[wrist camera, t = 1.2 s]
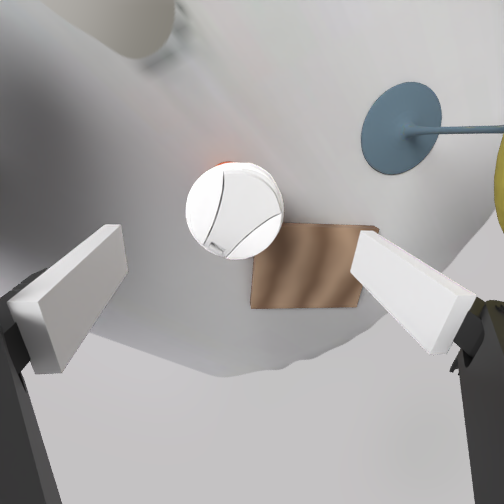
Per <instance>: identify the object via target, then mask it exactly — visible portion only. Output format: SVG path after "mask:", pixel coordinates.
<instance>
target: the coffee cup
mask: <svg viewBox="0 0 504 504" xmlns="http://www.w3.org/2000/svg"><path fill="white" fill-rule="evenodd" d="M283 217H284V203H283V198H282V195H281V192H280V190H279V188H278V186H277V185H276V183H275V181H274V179H273V177H272V175H270V174H269V173H268V172H267V171H266V170H264V169H263V168H261V167H259V166H257V165H255V164H252V163H236V162H223V163H220V164H218V165H216V166H215V167H213V168H211V169H209V170H208V171H207V172H205V173H204V174H202V175H201V176H200V177H199V178H198V179H197V181H196V182H195V183H194V185H193V186H192V188H191V190H190V192H189V195H188V198H187V201H186V220H187V224H188V227H189V229H190V232H191V233H192V235H193V237H194V238H195V239H196V241H197V242H198V243H199V244H200V245H201V246H202V247H203V248H205V249H206V250H208V251H209V252H211V253H213V254H215V255H218V256H221V257H225V258H226V259H232V260H239V259H246V258H249V257H252V256H255V255H257V254H259V253H260V252H262V251H264V250H265V249H266V248H267V247H268V246H269V245H270V244H271V243H272V242H273V240H274V239H275V237H276V236H277V234H278V233H279V230H280V228H281V226H282V222H283Z"/></svg>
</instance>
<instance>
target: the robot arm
mask: <svg viewBox="0 0 504 504" xmlns="http://www.w3.org/2000/svg"><path fill="white" fill-rule="evenodd" d="M350 272H351V274H352V275H353V276H354V277H355V278H356V279H357V280H358V281H359V282H360V283H361V284H362V285H363V286H364V287H365V288H366V289H367V290H368V291H369V292H370V293H371V294H372V295H373V296H374V298H375V299H376V300H377V301H378V302H379V303H380V304H381V305H382V306H383V307H384V308H385V309H386V310H387V311H388V312H389V313H390V314H391V315H392V316H393V317H394V318H395V319H396V320H397V322H398V323H399V324H400V325H401V326H402V327H403V328H404V329H405V330H406V331H407V332H408V333H409V334H410V335H411V336H412V337H413V338H414V339H415V340H416V341H417V342H418V343H419V344H420V345H421V346H422V348H423V349H424V350H425V351H426V352H427V353H428V354H429V355H440V354H447V353H448V351H449V349H450V347H451V345H452V343H453V342H455V343H456V344H457V345H458V346H459V347H460V348H461V349H460V351H459V353H458V355H457V357H456V359H455V360H454V362H453V364H452V366H451V368H450V372H453V371H454V370H455V369H458V368H459V373H458V375H459V376H460V384H461V393H462V401H463V409H464V417H465V425H466V433H467V442H468V450H469V458H470V466H471V474H472V482H473V491H474V499H475V504H504V302H501V301H497V300H489V301H486V302H484V301H483V300H481V299H480V298H478V297H477V295H476V294H474V293H472V292H471V291H469V290H467V289H466V288H464V287H463V286H461V285H459V284H458V283H456V282H455V281H453V280H451V279H450V278H448V277H447V276H445V275H443V274H442V273H440V272H439V271H437V270H435V269H434V268H432V267H431V266H429V265H427V264H426V263H424V262H422V261H421V260H419V259H418V258H416V257H414V256H413V255H411V254H410V253H408V252H406V251H405V250H403V249H402V248H400V247H398V246H397V245H395V244H394V243H392V242H390V241H389V240H387V239H385V238H384V237H382V236H381V235H379V234H377V233H376V232H374V231H364V230H361V231H360V235H359V239H358V243H357V247H356V251H355V255H354V259H353V263H352V266H351V270H350ZM127 273H128V266H127V259H126V253H125V246H124V240H123V233H122V227H121V225H117V224H105V225H104V226H102V227H101V228H100V229H98V230H97V231H96V232H95V233H93V234H92V235H91V236H90V237H88V238H87V239H86V240H85V241H83V242H82V243H81V244H79V245H78V246H77V247H76V248H74V249H73V250H72V251H71V252H69V253H68V254H67V255H65V256H64V257H63V258H62V259H60V260H59V261H58V262H57V263H55V264H54V265H53V266H52V267H50V268H45V269H43V270H41V271H39V272H37V273H34V274H32V275H30V276H29V277H28V278H26V279H25V280H24V281H22V282H21V284H18V285H17V286H16V287H14V288H13V289H12V291H9V292H8V293H6V294H5V295H4V296H2V297H1V298H0V504H62V502H61V499H60V495H59V492H58V489H57V485H56V482H55V479H54V476H53V473H52V469H51V466H50V463H49V459H48V456H47V453H46V449H45V446H44V443H43V440H42V436H41V433H40V430H39V427H38V424H37V420H36V417H35V414H34V410H33V407H32V404H31V400H30V397H29V394H28V391H27V387H26V384H25V381H24V378H23V376H22V374H21V371H22V370H23V368H24V367H25V366H26V364H27V363H28V362H29V361H30V362H31V365H32V367H33V369H34V372H35V374H53V373H62V372H63V371H64V369H65V368H66V366H67V365H68V363H69V362H70V360H71V358H72V357H73V355H74V354H75V352H76V351H77V349H78V348H79V346H80V345H81V343H82V342H83V340H84V339H85V337H86V336H87V334H88V333H89V331H90V330H91V328H92V327H93V325H94V324H95V322H96V320H97V319H98V317H99V316H100V314H101V313H102V311H103V310H104V308H105V307H106V305H107V304H108V302H109V301H110V299H111V298H112V296H113V295H114V293H115V292H116V290H117V289H118V287H119V285H120V284H121V282H122V281H123V279H124V278H125V276H126V275H127Z"/></svg>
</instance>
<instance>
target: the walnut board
mask: <svg viewBox="0 0 504 504" xmlns="http://www.w3.org/2000/svg"><path fill="white" fill-rule="evenodd" d="M361 230H364V231H374V232H376V233H377V234H378V232H379V229H378V228H377V227H375V226H366V225H335V224H304V223H282V226H281V228H280V230H279V233H278V234H277V236H276V237H275V239H274V240H273V242H272V243H271V244H270V245H269V246H268V247H267V248H266V249H265V250H264V251H262V252H260V253H259V254H257V255H255V256H254V262H253V274H252V286H251V299H250V305H251V309H273V308H338V307H357V303H358V300H359V297H360V293H361V290H362V286H363V285H362V284H361V283H360V282H359V281H358V280H357V279H356V278H355V277H354V276H353V275H352V274H351V272H350V270H351V266H352V263H353V259H354V255H355V251H356V247H357V243H358V239H359V235H360V231H361Z"/></svg>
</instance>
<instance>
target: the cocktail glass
mask: <svg viewBox="0 0 504 504" xmlns="http://www.w3.org/2000/svg"><path fill="white" fill-rule="evenodd" d="M441 120H442V113H441V106H440V103H439V100H438V98H437V96H436V95H435V93H434V92H433V91H432V90H431V89H430V88H429V87H427V86H426V85H423V84H421V83H416V82H406V83H402V84H399V85H396V86H394V87H392V88H390V89H389V90H387V91H386V92H385V93H383V94H382V95H381V96H380V97H379V98H378V99H377V100H376V102H375V103H374V104H373V106H372V107H371V109H370V110H369V112H368V114H367V116H366V118H365V121H364V124H363V128H362V133H361V146H362V151H363V154H364V157H365V159H366V160H367V162H368V164H369V165H370V166H371V167H372V168H374V169H375V170H377V171H379V172H381V173H385V174H398V173H402V172H405V171H407V170H409V169H411V168H413V167H414V166H416V165H417V164H419V163H420V162H421V161H422V160H423V159H424V158H425V157H426V156H427V154H428V153H429V152H430V150H431V149H432V147H433V146H434V144H435V142H436V140H437V137H438V135H439V134H474V133H504V125H500V126H466V127H441ZM494 201H495V207H496V212H497V217H498V221H499V224H500V226H501V228H502V230H503V233H504V134H503V138H502V141H501V145H500V148H499V152H498V156H497V162H496V169H495V175H494Z"/></svg>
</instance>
